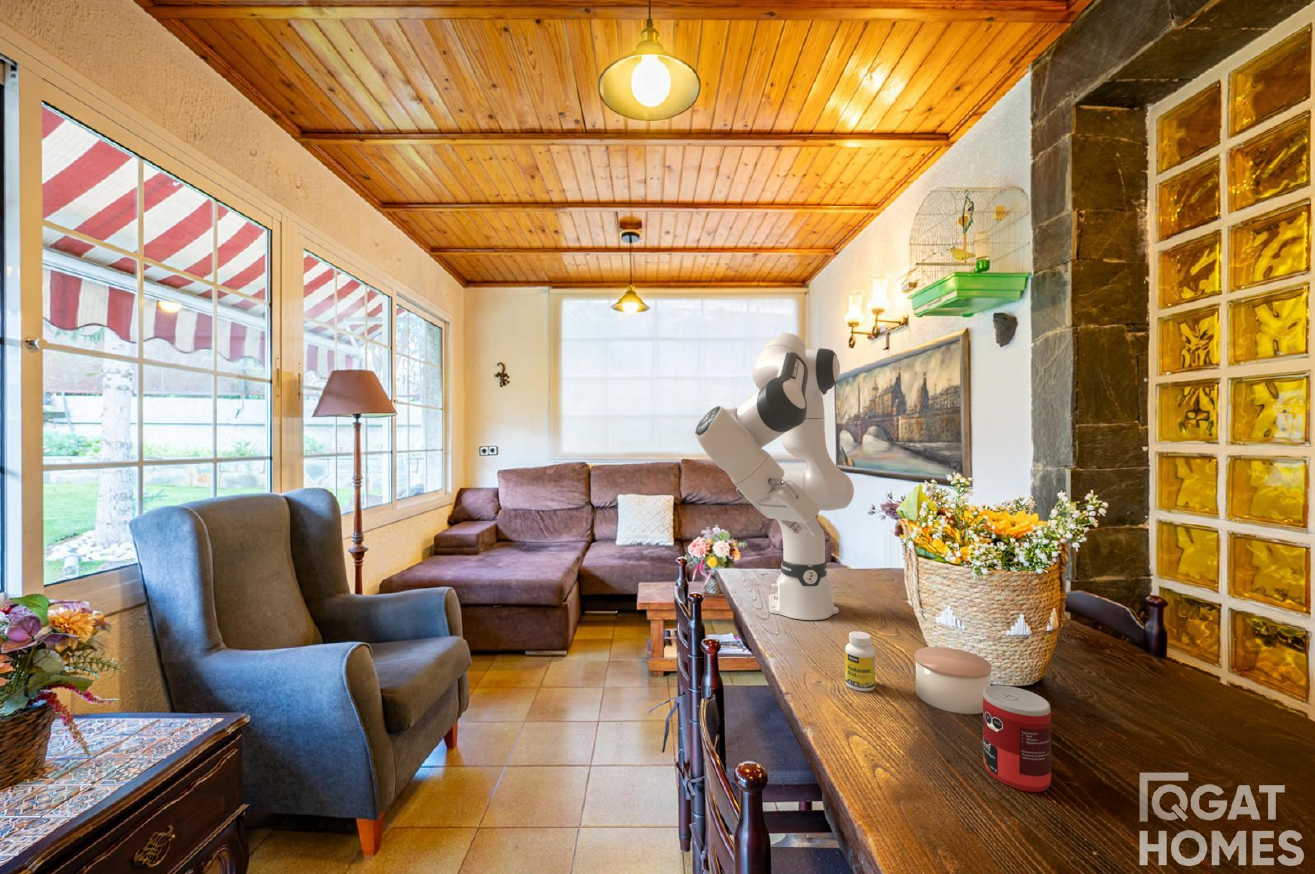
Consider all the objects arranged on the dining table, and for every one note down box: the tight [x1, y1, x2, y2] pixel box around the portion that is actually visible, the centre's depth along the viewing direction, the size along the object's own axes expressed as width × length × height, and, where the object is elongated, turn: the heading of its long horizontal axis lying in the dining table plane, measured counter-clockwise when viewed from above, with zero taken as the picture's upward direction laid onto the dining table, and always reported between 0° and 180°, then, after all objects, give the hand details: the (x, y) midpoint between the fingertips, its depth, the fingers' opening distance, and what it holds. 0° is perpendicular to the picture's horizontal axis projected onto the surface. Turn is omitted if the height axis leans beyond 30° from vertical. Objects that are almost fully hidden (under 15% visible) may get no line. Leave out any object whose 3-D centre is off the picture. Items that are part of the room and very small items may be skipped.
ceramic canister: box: [914, 646, 993, 715], centre depth 99 cm, size 12×12×7 cm
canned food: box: [982, 684, 1052, 793], centre depth 76 cm, size 8×8×11 cm
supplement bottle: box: [844, 630, 876, 692], centre depth 104 cm, size 5×5×10 cm
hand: (808, 533), depth 104 cm, fingers open, 8 cm apart
